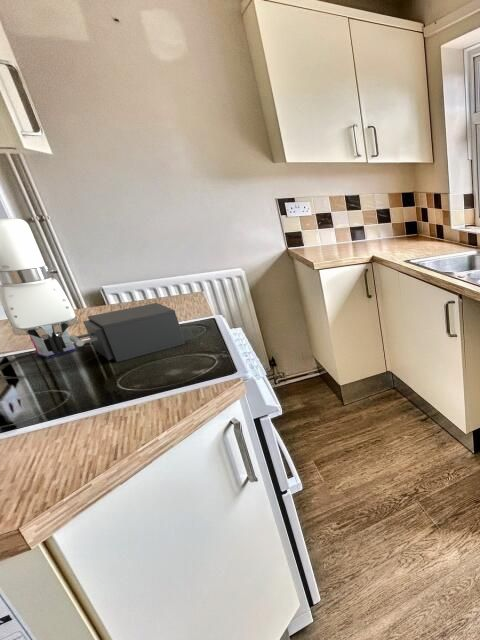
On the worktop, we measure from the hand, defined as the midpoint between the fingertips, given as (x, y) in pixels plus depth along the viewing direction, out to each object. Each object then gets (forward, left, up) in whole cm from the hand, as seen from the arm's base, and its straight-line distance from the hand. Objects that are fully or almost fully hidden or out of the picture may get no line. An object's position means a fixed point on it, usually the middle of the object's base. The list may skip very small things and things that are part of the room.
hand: (58, 352), depth 100 cm
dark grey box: (+5, +11, -3) cm, 12 cm away
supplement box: (-14, +7, -4) cm, 16 cm away
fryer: (+6, +14, -4) cm, 16 cm away
